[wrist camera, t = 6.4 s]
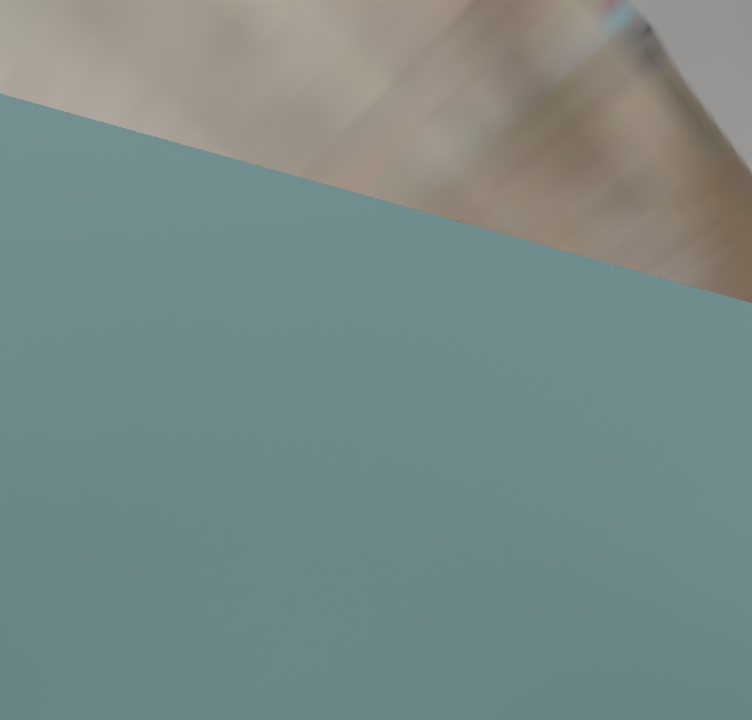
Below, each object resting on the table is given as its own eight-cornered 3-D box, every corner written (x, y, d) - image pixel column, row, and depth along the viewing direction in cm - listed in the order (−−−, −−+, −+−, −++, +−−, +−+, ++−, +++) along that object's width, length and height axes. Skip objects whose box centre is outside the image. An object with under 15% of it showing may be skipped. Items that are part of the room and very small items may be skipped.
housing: (157, 606, 14) (-169, 1234, 5) (221, 191, 11) (-346, -4, 2) (419, 646, 15) (516, 1222, 6) (549, 279, 12) (1128, 408, 3)
